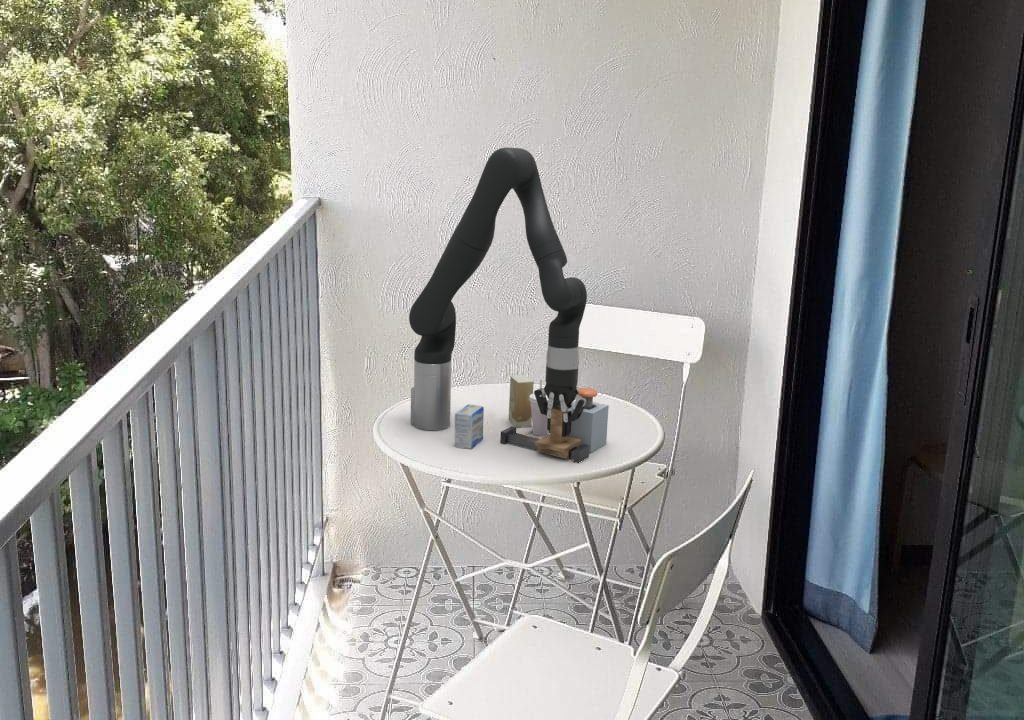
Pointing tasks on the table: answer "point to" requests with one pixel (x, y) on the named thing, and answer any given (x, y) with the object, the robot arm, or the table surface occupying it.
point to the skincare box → (520, 400)
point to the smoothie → (538, 416)
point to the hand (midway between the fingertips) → (558, 434)
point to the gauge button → (587, 396)
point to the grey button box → (591, 426)
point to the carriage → (557, 438)
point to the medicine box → (469, 426)
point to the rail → (529, 443)
